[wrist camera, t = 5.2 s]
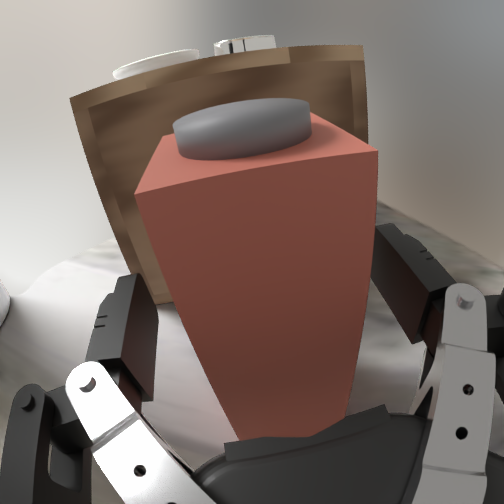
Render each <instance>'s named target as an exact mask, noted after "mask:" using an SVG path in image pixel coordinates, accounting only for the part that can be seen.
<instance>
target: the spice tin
mask: <svg viewBox="0 0 504 504" xmlns="http://www.w3.org/2000/svg"><path fill="white" fill-rule="evenodd" d="M173 129H174V134H170V135H166V136H163V137H162V139H161V141H160V142H159V144H158V146H157V148H156V150H155V152H154V154H153V156H152V158H151V160H150V162H149V164H148V166H147V168H146V170H145V172H144V174H143V176H142V178H141V180H140V183H139V185H138V187H137V189H136V191H135V193H134V196H135V199H136V202H137V205H138V208H139V211H140V214H141V217H142V220H143V223H144V226H145V229H146V231H147V234H148V237H149V240H150V242H151V245H152V248H153V251H154V253H155V256H156V259H157V261H158V264H159V267H160V269H161V272H162V274H163V277H164V279H165V282H166V284H167V287H168V289H169V292H170V294H171V297H172V299H173V302H174V304H175V306H176V309H177V311H178V314H179V316H180V318H181V321H182V323H183V325H184V328H185V330H186V332H187V334H188V337H189V339H190V341H191V343H192V346H193V348H194V350H195V352H196V354H197V357H198V359H199V361H200V363H201V365H202V367H203V369H204V372H205V374H206V376H207V378H208V380H209V382H210V384H211V386H212V388H213V390H214V392H215V394H216V396H217V398H218V400H219V402H220V404H221V406H222V408H223V410H224V412H225V414H226V416H227V418H228V420H229V422H230V424H231V425H232V427H233V429H234V431H235V433H236V435H237V437H238V438H239V440H240V441H242V440H248V439H254V438H260V437H309V436H312V435H315V434H316V433H318V432H320V431H322V430H324V429H326V428H328V427H330V426H331V425H333V424H335V423H337V422H339V421H340V420H342V419H344V417H345V413H346V409H347V405H348V401H349V396H350V392H351V388H352V383H353V378H354V374H355V369H356V364H357V359H358V353H359V348H360V342H361V337H362V331H363V325H364V318H365V312H366V305H367V298H368V290H369V282H370V274H371V265H372V255H373V245H374V233H375V220H376V204H377V180H378V150H376V149H375V148H373V147H371V146H370V145H368V144H366V143H365V142H363V141H361V140H360V139H358V138H356V137H355V136H353V135H351V134H350V133H348V132H346V131H344V130H343V129H341V128H339V127H337V126H335V125H334V124H332V123H330V122H328V121H326V120H324V119H323V118H321V117H319V116H317V115H315V114H313V113H311V112H310V106H309V103H308V102H307V101H304V100H299V99H291V98H267V99H254V100H246V101H239V102H233V103H227V104H222V105H218V106H214V107H210V108H206V109H203V110H199V111H196V112H193V113H191V114H188V115H186V116H184V117H182V118H180V119H178V120H176V121H175V122H174V123H173Z"/></svg>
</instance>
